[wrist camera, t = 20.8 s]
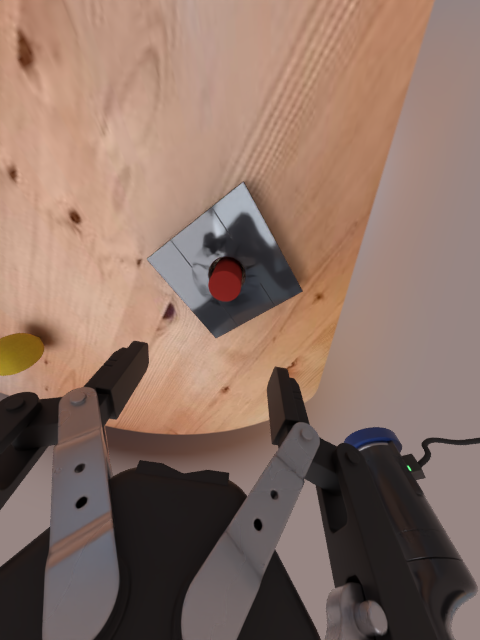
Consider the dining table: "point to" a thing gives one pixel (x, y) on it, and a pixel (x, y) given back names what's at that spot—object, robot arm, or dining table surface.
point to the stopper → (226, 279)
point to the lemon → (19, 352)
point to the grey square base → (232, 241)
